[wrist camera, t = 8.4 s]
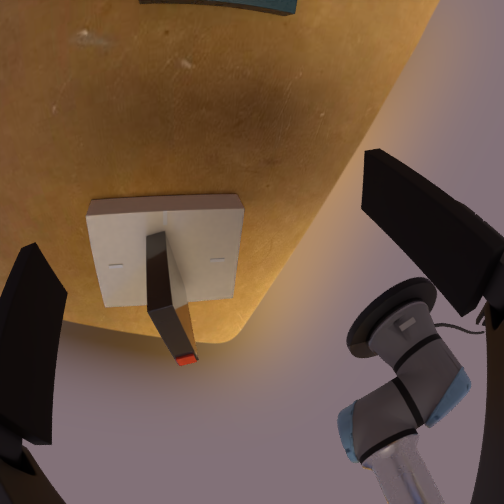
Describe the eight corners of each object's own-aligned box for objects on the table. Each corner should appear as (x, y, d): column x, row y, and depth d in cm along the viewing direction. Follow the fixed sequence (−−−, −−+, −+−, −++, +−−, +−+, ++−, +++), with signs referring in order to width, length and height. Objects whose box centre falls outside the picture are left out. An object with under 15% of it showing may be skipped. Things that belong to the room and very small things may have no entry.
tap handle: (145, 235, 26) (147, 314, 19) (165, 230, 26) (173, 307, 19) (168, 291, 30) (178, 367, 23) (185, 286, 31) (199, 362, 24)
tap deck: (237, 192, 29) (245, 208, 27) (227, 280, 36) (233, 299, 33) (91, 198, 25) (85, 215, 23) (107, 289, 32) (105, 309, 29)
